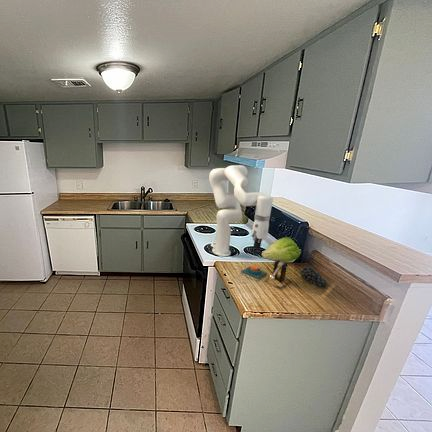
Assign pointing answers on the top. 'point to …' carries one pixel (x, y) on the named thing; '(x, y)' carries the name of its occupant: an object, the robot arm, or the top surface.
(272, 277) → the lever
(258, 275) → the control block
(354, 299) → the top surface
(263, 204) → the robot arm
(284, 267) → the bracket
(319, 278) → the fruit
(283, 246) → the lettuce
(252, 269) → the button
